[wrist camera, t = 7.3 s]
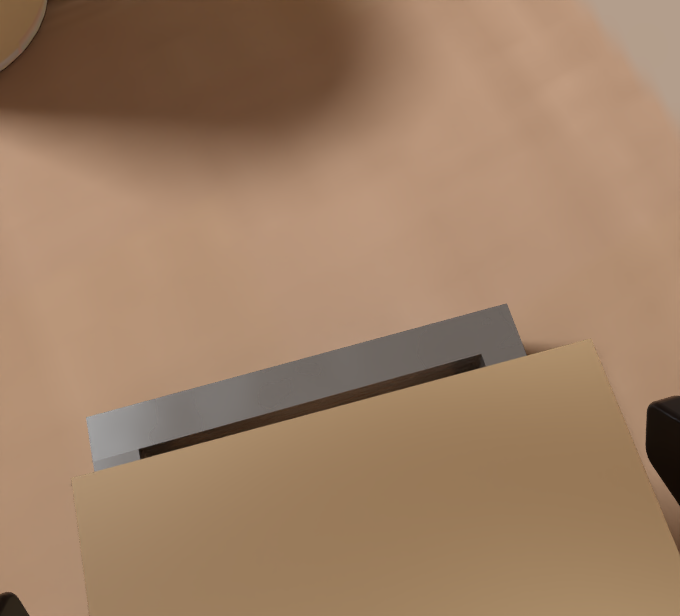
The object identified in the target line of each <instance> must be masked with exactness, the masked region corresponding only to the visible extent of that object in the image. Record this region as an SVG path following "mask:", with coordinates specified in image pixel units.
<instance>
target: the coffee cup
mask: <svg viewBox="0 0 680 616" xmlns="http://www.w3.org/2000/svg"><path fill="white" fill-rule="evenodd" d="M46 5H47V0H0V71H1V70H3V69H4V68H6V67H7V66H8V65H9V64H10V63H11V62H13V61H14V60H15V59H16V58H17V57H18V56H19V55H20V54H21V53H22V52H23V51H24V50H25V49H26V47H27V46H28V45H29V44H30V42H31V40H32V39H33V37H34V36H35V34H36V33H37V31H38V29H39V27H40V25H41V22H42V20H43V17H44V15H45V10H46Z"/></svg>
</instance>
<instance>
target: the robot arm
mask: <svg viewBox="0 0 680 616" xmlns="http://www.w3.org/2000/svg"><path fill="white" fill-rule="evenodd" d="M646 452H647V455H648V458H649V460H650V462H651V464H652V466H653V467H654V469H655V470H656V472H657V473H658V474H659V476H660V477H661V479H662V480H663V482H664V483H665V485H666V486H667V488H668V489H669V491H670V492H671V494H672V495H673V497H674V498H675V499H676V501H677V502H678V504H679V505H680V396H671V397H668V398H665V399H661V400H658V401H654V402H652V403H651V404H650V405H649V407H648V409H647V421H646ZM0 616H29V614H28V613H27V611H26V609H25V608H24V606H23V605H22V603H21V601H20V600H19V598H18V597H17V596H16V595H15V594H13V593H11V592H5V593H2V594H0Z"/></svg>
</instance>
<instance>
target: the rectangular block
mask: <svg viewBox="0 0 680 616" xmlns="http://www.w3.org/2000/svg"><path fill="white" fill-rule="evenodd" d="M71 481H72V489H73V496H74V504H75V512H76V519H77V527H78V534H79V542H80V549H81V557H82V564H83V572H84V580H85V587H86V595H87V602H88V610H89V616H680V554H679V551H678V549H677V547H676V544H675V542H674V539H673V537H672V534H671V532H670V530H669V527H668V525H667V522H666V520H665V517H664V515H663V513H662V510H661V508H660V505H659V503H658V500H657V498H656V496H655V493H654V491H653V488H652V486H651V483H650V481H649V478H648V476H647V474H646V471H645V469H644V466H643V464H642V461H641V459H640V457H639V454H638V452H637V449H636V447H635V444H634V442H633V440H632V437H631V435H630V432H629V430H628V427H627V425H626V423H625V420H624V418H623V415H622V413H621V410H620V408H619V405H618V403H617V401H616V398H615V396H614V393H613V391H612V388H611V386H610V384H609V381H608V379H607V376H606V374H605V371H604V369H603V367H602V364H601V362H600V359H599V357H598V354H597V352H596V350H595V347H594V345H593V342H592V340H591V339H587V340H583V341H580V342H576V343H572V344H568V345H565V346H561V347H557V348H553V349H550V350H546V351H542V352H539V353H535V354H531V355H527V356H524V357H520V358H516V359H513V360H509V361H505V362H501V363H498V364H494V365H490V366H487V367H483V368H479V369H475V370H472V371H468V372H464V373H460V374H457V375H453V376H449V377H446V378H442V379H438V380H434V381H431V382H427V383H423V384H420V385H416V386H412V387H408V388H405V389H401V390H397V391H394V392H390V393H386V394H382V395H379V396H375V397H371V398H367V399H364V400H360V401H356V402H353V403H349V404H345V405H341V406H338V407H334V408H330V409H327V410H323V411H319V412H315V413H312V414H308V415H304V416H301V417H297V418H293V419H289V420H286V421H282V422H278V423H274V424H271V425H267V426H263V427H260V428H256V429H252V430H248V431H245V432H241V433H237V434H234V435H230V436H226V437H222V438H219V439H215V440H211V441H208V442H204V443H200V444H196V445H193V446H189V447H185V448H181V449H178V450H174V451H170V452H167V453H163V454H159V455H155V456H152V457H148V458H144V459H141V460H137V461H133V462H129V463H126V464H122V465H118V466H115V467H111V468H107V469H103V470H100V471H96V472H92V473H88V474H85V475H81V476H77V477H74V478H71Z"/></svg>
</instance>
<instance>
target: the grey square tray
mask: <svg viewBox="0 0 680 616" xmlns="http://www.w3.org/2000/svg"><path fill="white" fill-rule="evenodd" d="M524 356H527V355H526V352H525V350H524V347H523V344H522V342H521V339H520V337H519V334H518V331H517V329H516V326H515V324H514V321H513V318H512V316H511V313H510V311H509V308H508V305H507V304H503V305H500V306H496V307H492V308H488V309H485V310H481V311H477V312H474V313H470V314H466V315H463V316H459V317H455V318H452V319H448V320H444V321H440V322H437V323H433V324H429V325H426V326H422V327H418V328H415V329H411V330H407V331H404V332H400V333H396V334H392V335H389V336H385V337H381V338H378V339H374V340H370V341H367V342H363V343H359V344H356V345H352V346H348V347H344V348H341V349H337V350H333V351H330V352H326V353H322V354H319V355H315V356H311V357H308V358H304V359H300V360H296V361H293V362H289V363H285V364H282V365H278V366H274V367H271V368H267V369H263V370H260V371H256V372H252V373H248V374H245V375H241V376H237V377H234V378H230V379H226V380H223V381H219V382H215V383H212V384H208V385H204V386H200V387H197V388H193V389H189V390H186V391H182V392H178V393H175V394H171V395H167V396H164V397H160V398H156V399H152V400H149V401H145V402H141V403H138V404H134V405H130V406H127V407H123V408H119V409H116V410H112V411H108V412H104V413H101V414H97V415H93V416H90V417H86V420H87V426H88V433H89V439H90V446H91V452H92V459H93V465H94V472H96V471H100V470H103V469H107V468H111V467H115V466H118V465H122V464H126V463H129V462H133V461H137V460H141V459H144V458H148V457H152V456H155V455H159V454H163V453H167V452H170V451H174V450H178V449H181V448H185V447H189V446H193V445H196V444H200V443H204V442H208V441H211V440H215V439H219V438H222V437H226V436H230V435H234V434H237V433H241V432H245V431H248V430H252V429H256V428H260V427H263V426H267V425H271V424H274V423H278V422H282V421H286V420H289V419H293V418H297V417H301V416H304V415H308V414H312V413H315V412H319V411H323V410H327V409H330V408H334V407H338V406H341V405H345V404H349V403H353V402H356V401H360V400H364V399H367V398H371V397H375V396H379V395H382V394H386V393H390V392H394V391H397V390H401V389H405V388H408V387H412V386H416V385H420V384H423V383H427V382H431V381H434V380H438V379H442V378H446V377H449V376H453V375H457V374H460V373H464V372H468V371H472V370H475V369H479V368H483V367H487V366H490V365H494V364H498V363H501V362H505V361H509V360H513V359H516V358H520V357H524Z"/></svg>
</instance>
